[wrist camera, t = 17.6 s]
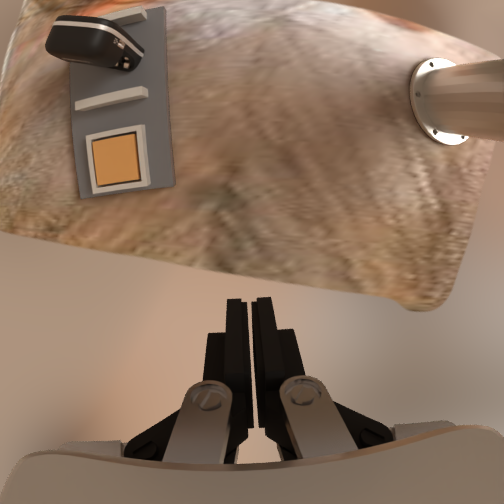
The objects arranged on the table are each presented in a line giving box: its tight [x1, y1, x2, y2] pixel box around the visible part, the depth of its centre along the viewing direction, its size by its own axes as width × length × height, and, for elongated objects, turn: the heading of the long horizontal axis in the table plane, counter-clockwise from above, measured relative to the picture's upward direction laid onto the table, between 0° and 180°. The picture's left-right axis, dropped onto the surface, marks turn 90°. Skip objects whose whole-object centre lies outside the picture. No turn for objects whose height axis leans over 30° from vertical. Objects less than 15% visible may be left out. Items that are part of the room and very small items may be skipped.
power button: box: [92, 134, 141, 185], centre depth 30 cm, size 5×5×1 cm
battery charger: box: [45, 15, 145, 72], centre depth 21 cm, size 7×4×11 cm, turn 68°
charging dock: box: [70, 6, 176, 199], centre depth 28 cm, size 12×22×4 cm, turn 3°
